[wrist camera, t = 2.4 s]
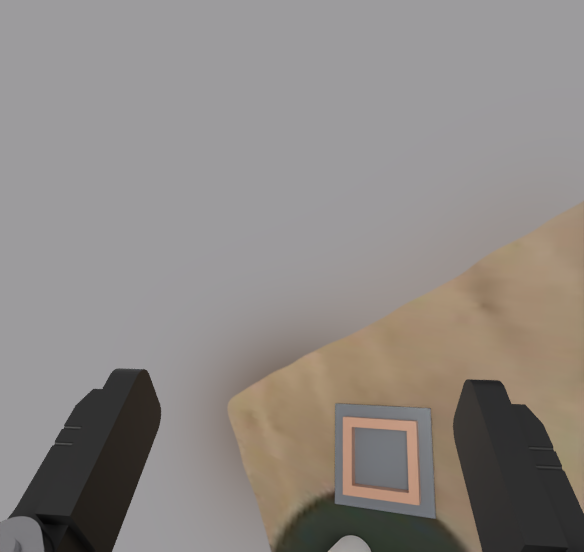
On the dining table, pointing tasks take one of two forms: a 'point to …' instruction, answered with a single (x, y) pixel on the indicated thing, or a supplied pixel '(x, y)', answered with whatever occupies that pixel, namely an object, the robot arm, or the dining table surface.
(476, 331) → the dining table surface
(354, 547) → the can
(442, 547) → the dining table surface
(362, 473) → the tray
